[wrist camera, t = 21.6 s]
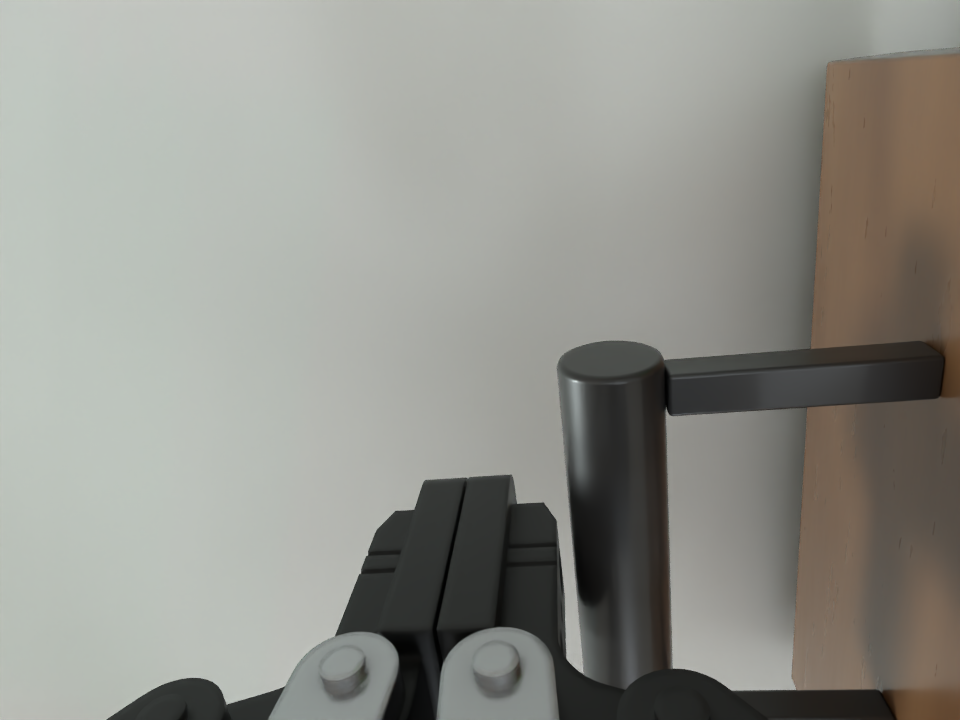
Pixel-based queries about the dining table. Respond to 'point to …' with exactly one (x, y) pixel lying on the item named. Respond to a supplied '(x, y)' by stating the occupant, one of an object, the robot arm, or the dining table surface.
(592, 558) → the drawer
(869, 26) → the dining table surface
